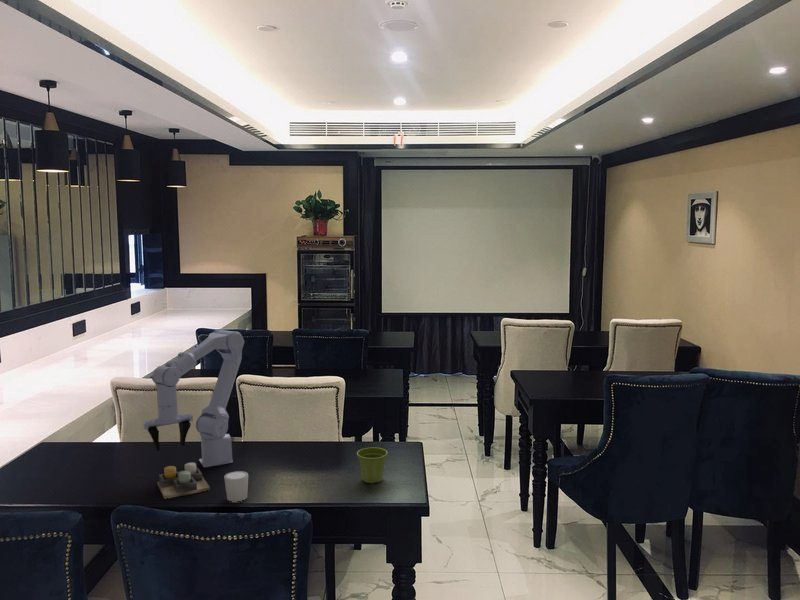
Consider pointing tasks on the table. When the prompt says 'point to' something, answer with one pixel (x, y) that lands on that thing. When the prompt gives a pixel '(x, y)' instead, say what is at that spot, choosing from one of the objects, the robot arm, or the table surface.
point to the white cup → (236, 485)
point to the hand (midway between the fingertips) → (170, 447)
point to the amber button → (170, 472)
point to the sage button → (184, 477)
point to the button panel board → (174, 489)
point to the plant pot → (372, 463)
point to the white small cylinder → (191, 468)
